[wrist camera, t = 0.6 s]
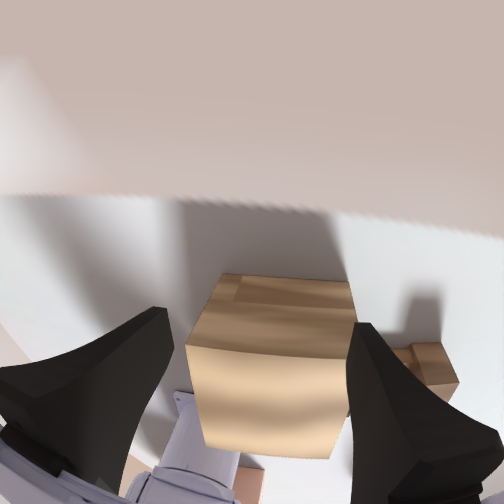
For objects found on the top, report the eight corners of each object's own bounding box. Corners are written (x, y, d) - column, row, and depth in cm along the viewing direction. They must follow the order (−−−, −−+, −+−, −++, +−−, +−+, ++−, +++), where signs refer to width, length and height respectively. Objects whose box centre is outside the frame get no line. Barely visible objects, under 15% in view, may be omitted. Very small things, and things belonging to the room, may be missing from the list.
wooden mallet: (430, 367, 23) (444, 407, 18) (258, 363, 25) (249, 407, 20) (455, 303, 20) (480, 341, 15) (259, 294, 22) (248, 336, 18)
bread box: (336, 384, 25) (339, 459, 17) (228, 375, 26) (206, 446, 19) (359, 282, 21) (380, 359, 13) (222, 273, 22) (184, 344, 15)
